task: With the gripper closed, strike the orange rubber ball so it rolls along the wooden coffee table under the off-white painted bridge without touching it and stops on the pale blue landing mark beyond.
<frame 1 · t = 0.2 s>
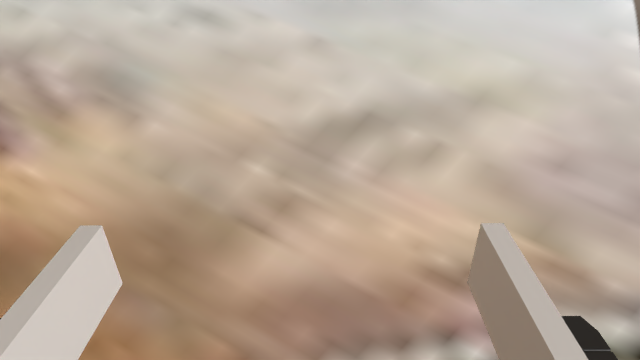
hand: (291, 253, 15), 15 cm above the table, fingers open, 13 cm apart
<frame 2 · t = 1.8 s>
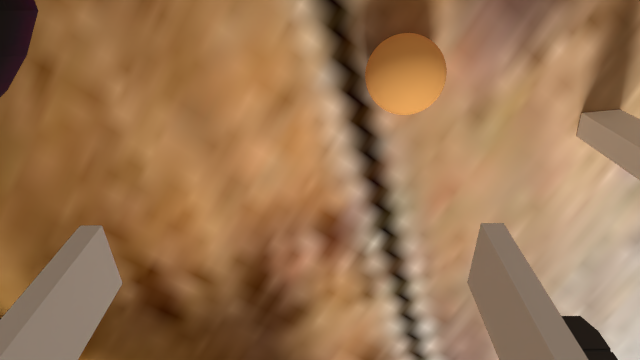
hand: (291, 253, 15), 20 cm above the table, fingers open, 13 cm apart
ball: (405, 74, 28), on the table
bridge: (616, 43, 30), on the table
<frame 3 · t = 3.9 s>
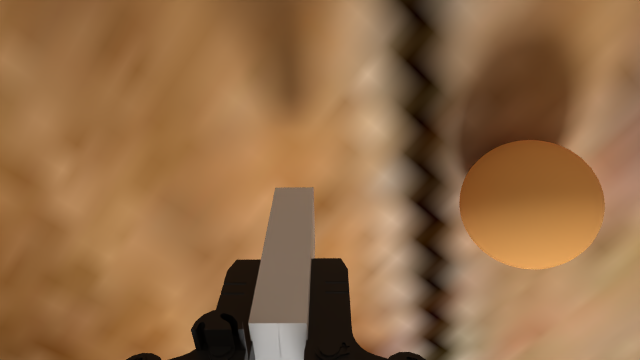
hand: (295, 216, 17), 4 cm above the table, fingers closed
ball: (526, 203, 18), on the table
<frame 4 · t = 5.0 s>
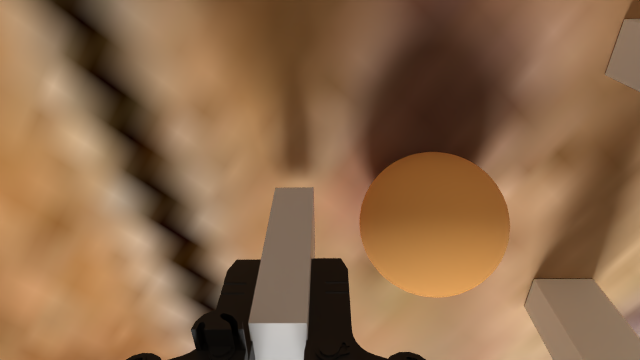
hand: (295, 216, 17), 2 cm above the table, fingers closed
ball: (431, 223, 16), on the table
bridge: (598, 191, 18), on the table
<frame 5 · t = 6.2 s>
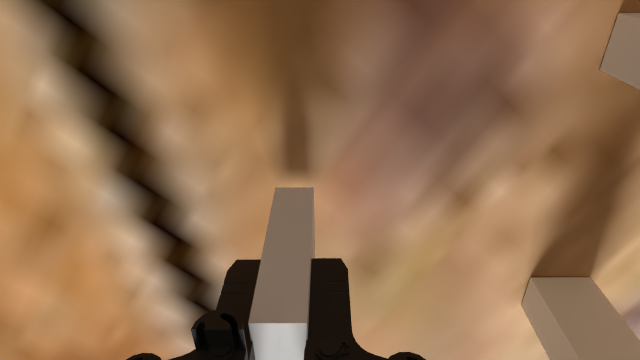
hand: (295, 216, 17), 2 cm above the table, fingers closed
bridge: (594, 189, 18), on the table
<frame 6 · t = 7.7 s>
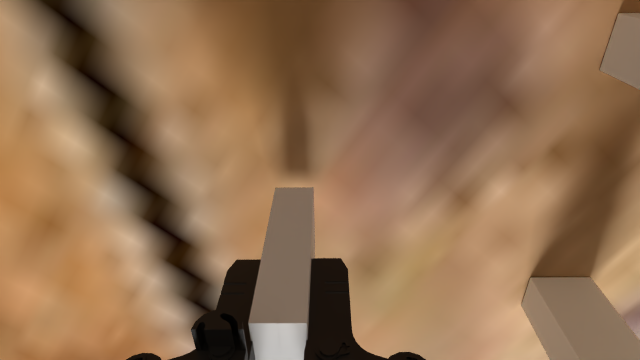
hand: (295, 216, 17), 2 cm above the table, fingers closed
bridge: (594, 189, 18), on the table
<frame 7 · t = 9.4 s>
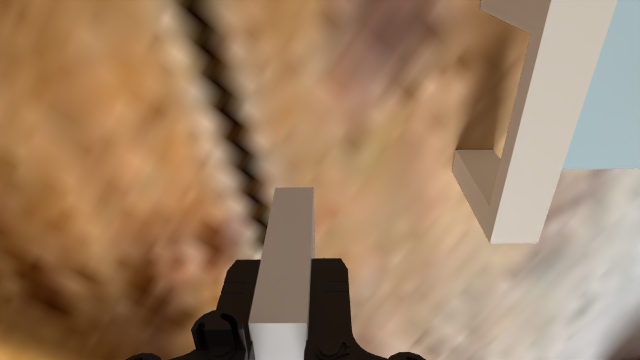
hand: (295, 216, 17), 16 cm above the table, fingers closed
bridge: (487, 85, 30), on the table
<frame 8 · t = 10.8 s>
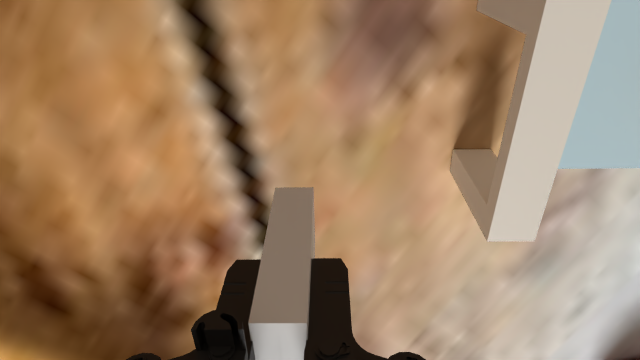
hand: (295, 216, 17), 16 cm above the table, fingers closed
bridge: (484, 85, 30), on the table
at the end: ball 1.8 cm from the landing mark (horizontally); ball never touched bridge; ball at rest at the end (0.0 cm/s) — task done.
